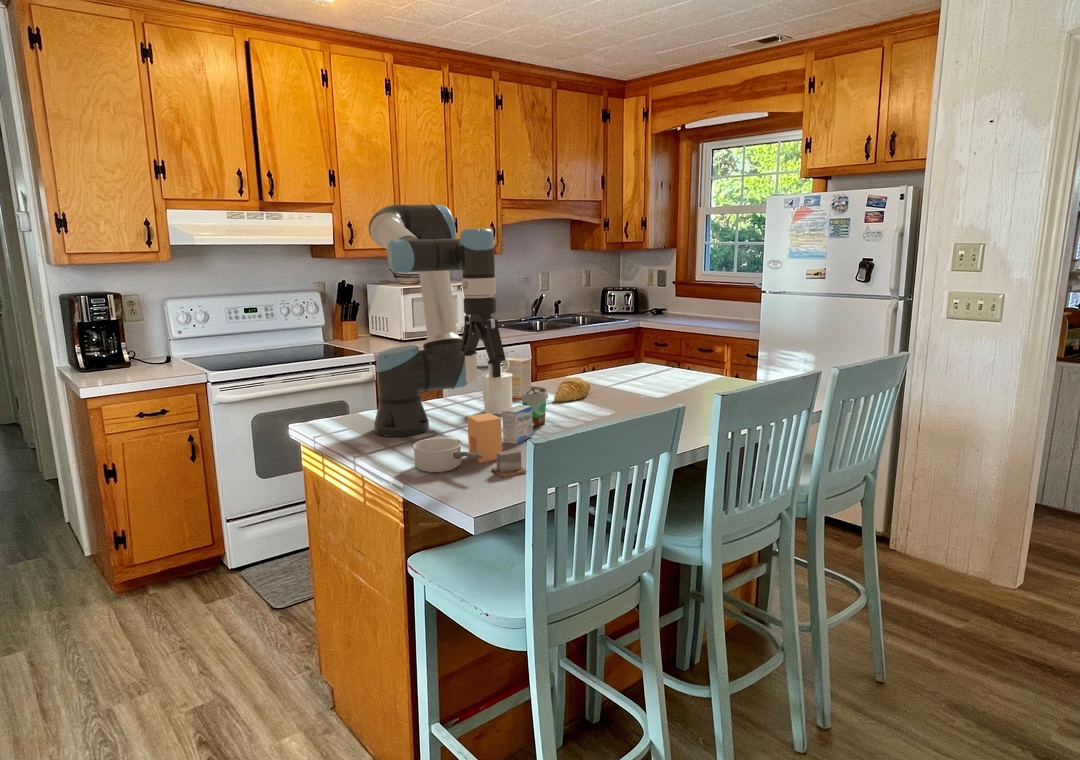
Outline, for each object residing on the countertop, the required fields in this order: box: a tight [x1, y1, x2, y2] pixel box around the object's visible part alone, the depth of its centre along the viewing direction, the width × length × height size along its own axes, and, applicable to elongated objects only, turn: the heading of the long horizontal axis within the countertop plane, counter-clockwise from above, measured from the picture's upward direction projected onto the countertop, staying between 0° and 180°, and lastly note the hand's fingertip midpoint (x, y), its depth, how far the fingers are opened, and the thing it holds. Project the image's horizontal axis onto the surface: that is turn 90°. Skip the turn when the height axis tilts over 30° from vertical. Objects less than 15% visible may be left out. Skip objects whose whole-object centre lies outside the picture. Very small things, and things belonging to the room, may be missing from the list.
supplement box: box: [503, 357, 532, 400], centre depth 231 cm, size 8×5×13 cm, turn 49°
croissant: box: [554, 377, 591, 402], centre depth 230 cm, size 21×10×8 cm, turn 148°
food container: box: [521, 385, 549, 429], centre depth 194 cm, size 12×6×10 cm, turn 168°
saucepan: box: [411, 437, 483, 473], centre depth 156 cm, size 12×20×6 cm, turn 50°
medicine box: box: [501, 404, 534, 446], centre depth 179 cm, size 8×4×9 cm, turn 148°
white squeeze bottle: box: [481, 356, 514, 416], centre depth 210 cm, size 10×9×20 cm
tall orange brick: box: [466, 413, 503, 463], centre depth 165 cm, size 6×6×10 cm
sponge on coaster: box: [491, 448, 527, 479], centre depth 154 cm, size 6×6×5 cm
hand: (483, 386), depth 163 cm, fingers open, 13 cm apart
